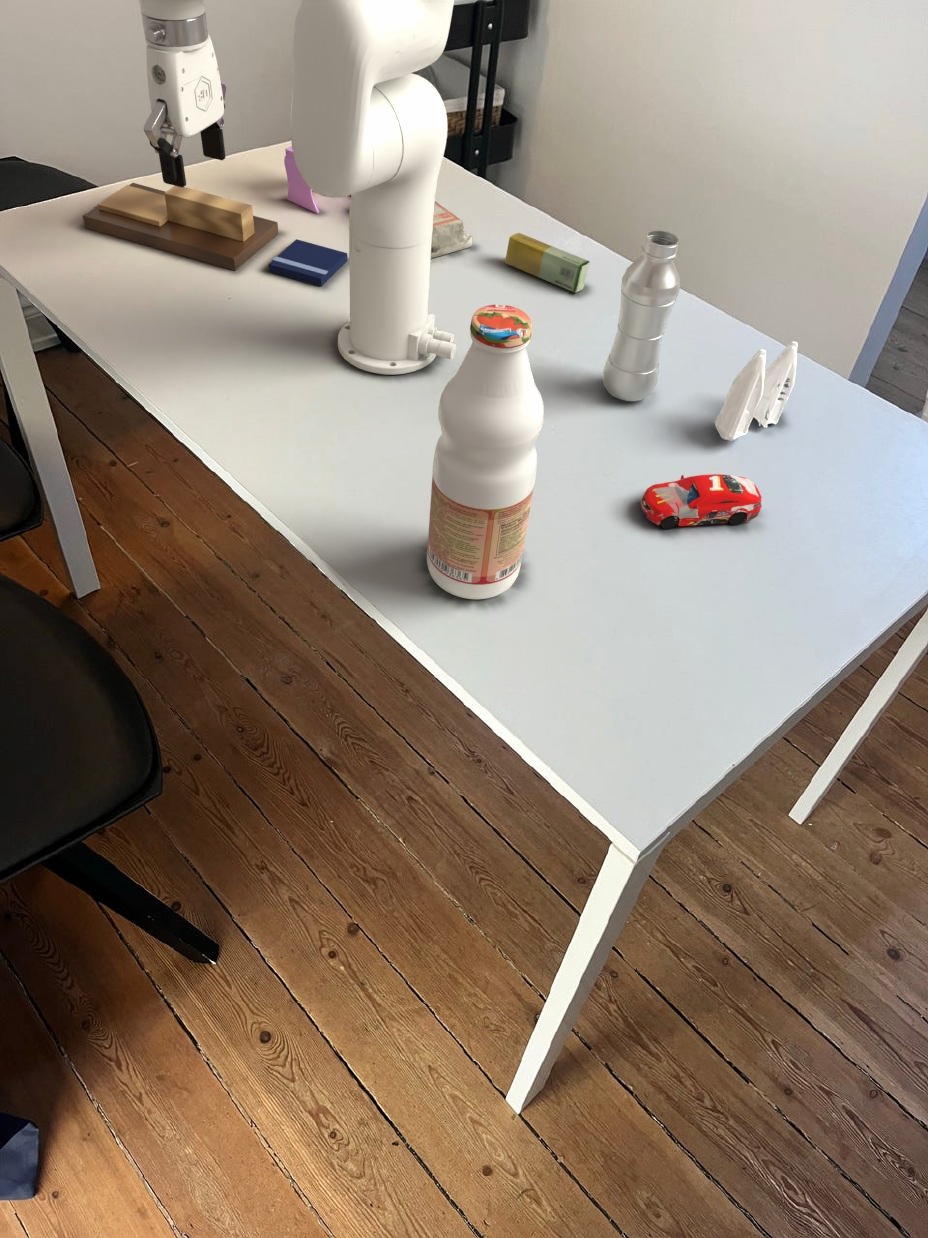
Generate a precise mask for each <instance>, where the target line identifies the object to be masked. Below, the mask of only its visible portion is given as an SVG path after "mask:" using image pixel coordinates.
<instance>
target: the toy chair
mask: <svg viewBox="0 0 928 1238" xmlns="http://www.w3.org/2000/svg"><path fill="white" fill-rule="evenodd" d="M283 163H284V169H285V174H286V178H287V196H286V197H287V198H286V199H287V201H290V202H291V203H294V204H296V205H298V206H300V207H303V208H304V209H307V210H309V211H311V212H313V213H314V214H315V213H316V214H320V211H319V209H318V207H317V204H316V202H315V199H314V196H313V190H312V189H311V188H310V187H309V186H308V185H307V184H306V182H305V181H304V180H303V178H302V176H301V174H300V173H299V170H298V168H297V166H296V163H295V159H294V155H293V150H292V145H291V146H289V147H286V148H285V155H284V160H283ZM349 196H352V195H349Z"/></svg>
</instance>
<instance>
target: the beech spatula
mask: <svg viewBox="0 0 928 1238" xmlns="http://www.w3.org/2000/svg"><path fill="white" fill-rule="evenodd" d="M128 185H129V184H128ZM128 185H127V184H126V185H125V186H123V187H122V188H120V189H119V190H117V191H116V192H114V193H112V194H111V195H110V196H108V197H106V198H105V199H104V200H102V201H101V202H99V203H97V206H98V208H99V210H102V211H106V212H110V213H113V214H117V215H120V216H124V217H127V218H131V219H135V220H138V221H142V222H145V223H149V224H152V225H156V226H159V227H160V226H162V225H163V224H164V223H166V222H167V221H171V222H174V223H178V224H181V225H185V226H189V227H192V228H196V229H199V230H203V231H207V232H210V233H214V234H217V235H221V236H225V237H228V238H232V239H235V240H239V241H242V242H244V241H245V240H247V239H248V238H249V237H250V236H251V235H253V234H254V221H253V216H254V209H253V204H249V203H245V202H243V201H242V202H241V201H237V200H234V199H231V198H227V197H223V196H219V195H216V194H212V193H208V192H204V191H200V190H198V189H193V188H190V187H186V186H184V187H178V186H174V185H173V186H172V187H171V188H170V189H167V190H166V191H165V193H164V194H165V195H161V194H157V193H154V192H150V191H146V190H143V189H139V188H135V187H132V186H128Z"/></svg>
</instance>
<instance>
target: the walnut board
mask: <svg viewBox="0 0 928 1238" xmlns="http://www.w3.org/2000/svg"><path fill="white" fill-rule="evenodd" d="M128 186H132V187H135V188H139V189H143V190H146V191H150V192H154V193H157V194H161V195H165V194H164V193H165V192H166V191H165V190H161V189H158V188H154V187H150V186H147V185H143V184H141V183H140V184H139V183H136V182H131V183H130V184H128ZM82 219H83V225H84V228H85V229H88V230H92V231H95V232H98V233H102V234H106V235H109V236H113V237H116V238H119V239H123V240H126V241H130V242H133V243H137V244H140V245H145V246H148V247H151V248H154V249H158V250H162V251H165V252H168V253H172V254H175V255H178V256H182V257H185V258H190V259H192V260H195V261H200V262H203V263H206V264H211V265H214V266H217V267H221V268H223V269H228V270H231V271H235V272H236V271H237V270H238V269H240V267H241V266H243V265H244V264H245V263H247V261H249V260H250V259H251V258H252V257H253V256H254V255H256V254H257V253H258V252H259V251H261V249H263V248H264V247H265V246H266V245H268V243H270V242H271V241H272V240H273V239H275V237H277V236H278V235H279V225H278V221H274V220H271V219H268V218H264V217H260V216H257V215H253V221H254V234H253V235H251V236H250V237H249V238H248V239H247V240H245V241H244V242H242V241H239V240H235V239H232V238H228V237H225V236H221V235H217V234H214V233H210V232H207V231H203V230H199V229H196V228H192V227H189V226H185V225H181V224H178V223H174V222H171V221H167V222H166V223H164V224H163V225H162V226H160V227H159V226H156V225H152V224H149V223H145V222H142V221H138V220H135V219H131V218H127V217H124V216H120V215H117V214H113V213H110V212H106V211H102V210H99V208H98V205H96V206H95V207H93V208H92V209H90V210H89V211H87V212H86V213H84V214H83V215H82Z"/></svg>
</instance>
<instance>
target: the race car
mask: <svg viewBox="0 0 928 1238" xmlns="http://www.w3.org/2000/svg"><path fill="white" fill-rule="evenodd" d="M756 485H757V484H756V483H755V482H754V481H753V480H751V479H749V478H747V477H745V476H737V475H732V474H720V473H719V474H718V473H717V474H716V473H714V474H710V473H709V474H700V475H699V474H698V475H691V476H687V477H685V476H684V474H681V476H680V479H678V480H674V481H667V482H661V483H654V484H652V485H651V486H649V487H647V489H646V490H645V491H644V493H643V495H642V496H641V497H642V498H641V500H640V510H641V513H642V514H643V515H644V517H645V518H646V519H647V520H648V521H650V522H652V523H653V524H655V525H657V526H661V528H662V529H664V530H670V529H673V528H674V527H676V526H677V525H678V527H685V526H701V525H717V524H718V525H720V524H721V525H722V524H728V523H729V524H730V525H732V526H737V525H740V524H742V523H744V522H749V521H752V520H754V519H755V518H757V517H758V516H759V514H760V512H761V509H762V496H761V495H762V494H761V493H760V490H759V488H758V487H757V486H756Z"/></svg>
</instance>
